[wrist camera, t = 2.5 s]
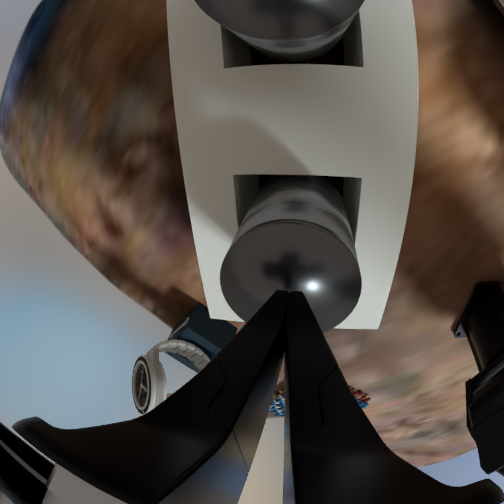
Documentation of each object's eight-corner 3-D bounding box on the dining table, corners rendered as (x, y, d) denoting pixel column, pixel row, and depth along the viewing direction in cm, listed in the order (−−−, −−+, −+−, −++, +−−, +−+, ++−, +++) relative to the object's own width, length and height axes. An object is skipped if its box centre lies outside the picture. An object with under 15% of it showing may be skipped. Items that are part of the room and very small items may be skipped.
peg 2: (341, 260, 15) (349, 340, 10) (253, 256, 16) (228, 331, 11) (349, 173, 12) (372, 228, 8) (248, 170, 13) (210, 222, 9)
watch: (181, 289, 24) (124, 392, 15) (252, 338, 26) (223, 444, 17) (157, 317, 27) (108, 405, 18) (220, 358, 29) (189, 449, 20)
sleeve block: (365, 269, 20) (378, 329, 15) (233, 262, 22) (210, 318, 17) (369, -38, 8) (390, -81, 3) (207, -34, 10) (166, -70, 5)
